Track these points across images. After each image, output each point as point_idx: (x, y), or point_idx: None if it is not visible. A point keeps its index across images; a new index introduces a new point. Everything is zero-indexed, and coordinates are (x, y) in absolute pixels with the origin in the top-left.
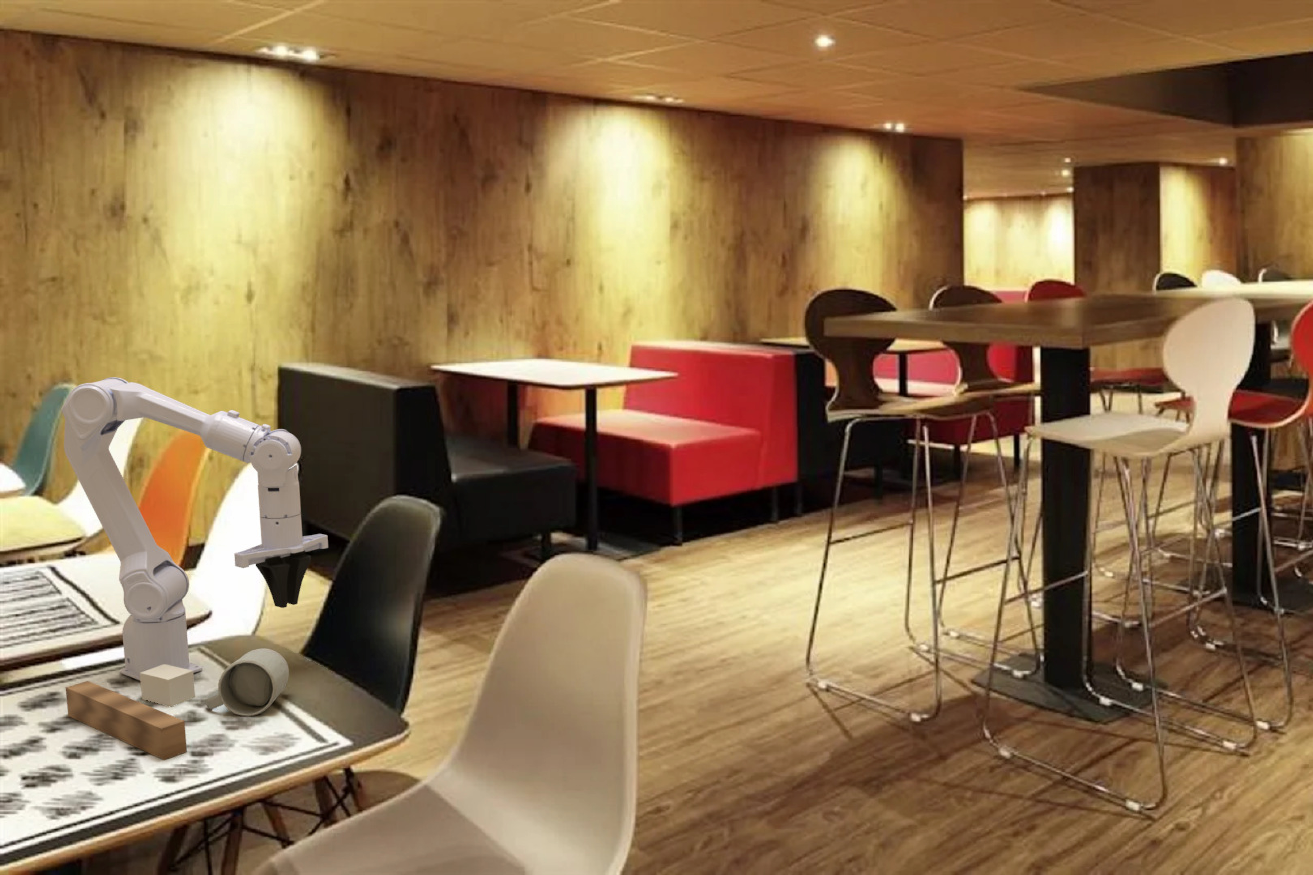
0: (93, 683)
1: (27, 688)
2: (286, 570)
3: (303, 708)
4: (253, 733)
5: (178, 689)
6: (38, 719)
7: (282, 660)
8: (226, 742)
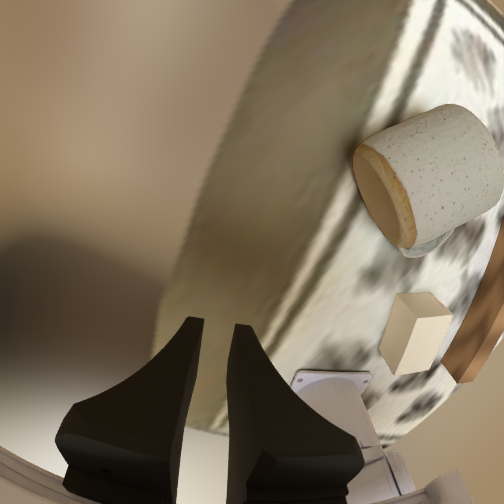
0: (464, 372)
1: (390, 439)
2: (272, 430)
3: (380, 78)
4: (470, 102)
5: (429, 304)
6: None
7: (402, 142)
8: (494, 122)
